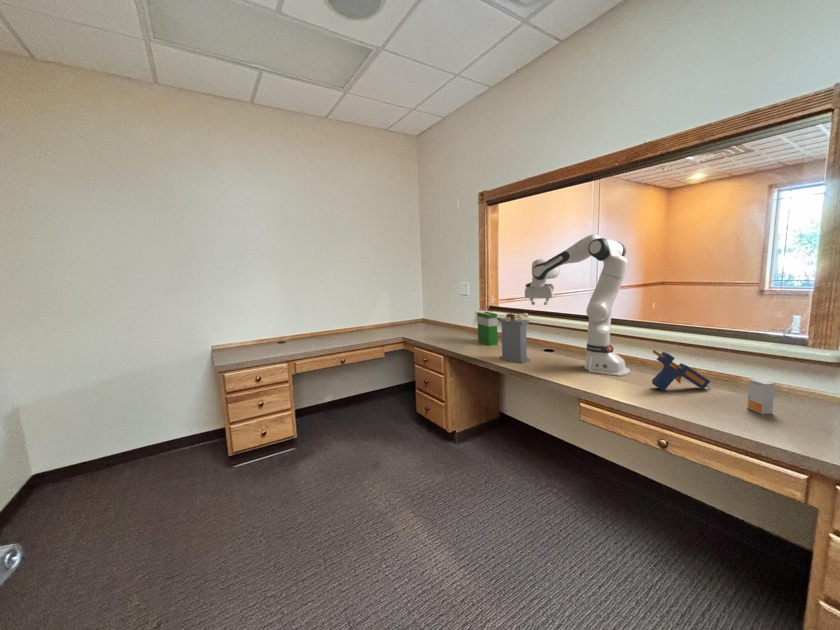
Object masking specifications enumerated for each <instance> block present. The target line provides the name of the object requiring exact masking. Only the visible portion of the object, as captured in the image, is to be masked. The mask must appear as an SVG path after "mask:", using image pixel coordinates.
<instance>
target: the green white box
mask: <svg viewBox="0 0 840 630" xmlns="http://www.w3.org/2000/svg"><path fill="white" fill-rule="evenodd" d="M476 315H477V317H476V318H477V342H478V343H480V344H482V345H486V346H488V347H490V346H491V347H492V346H498V343H499V342H498V313H494V312H488V311H484V312H480V311H479V312H476Z"/></svg>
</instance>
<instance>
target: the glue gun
mask: <svg viewBox="0 0 840 630" xmlns="http://www.w3.org/2000/svg"><path fill="white" fill-rule="evenodd" d="M652 353H653V354H654V355H656V356H658V357H657V358H656V361H657V362H659V363H661V364H662V365H663V368H662V370H660V371H659V372H658V373H657V374H656V375H655V376H654V378H652V379H651V382H652V383H651V384H652V385H653V386H655V387H656V388H657V389H659V390H661V391H662V392H665V391H666V389H667V388H668V387H669V386H670V385H671V384H672V382H673V381H674V380H675V381H676V382H677V383H678V384H682V383H681V379H682V378H684V379H685V380H687V381H688V382H689V383H692V384H693V385H695V386H696V387H698V388H700V389H702V390H705V388H708V389H710V390H712V388H711V387H710V386H709V384H710V383H711V380H710V379H708V378H707V377H705V376H704V375H702V374H701V373H699V372H697V371H696V370H694V369H692V368H691V367H690V366H688V365H686V364H684V363H681V362H680V363H679V364H678V363H675V362H674V360H675V359H676V358H675V357H674V356H673V355H671V354H670V353H667V352H666V351H662V352H661V353H660V352H659V351H657V350H656V349H655V350H652Z"/></svg>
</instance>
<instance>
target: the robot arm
mask: <svg viewBox="0 0 840 630" xmlns="http://www.w3.org/2000/svg"><path fill="white" fill-rule="evenodd" d="M626 253H627V248H626V246H625V245H624V244H623V243H622V242H619V241H615V240H613V239H609V238H604V237H601V236H600V235H598V234H596V233H595V234H594V233H593V234H590V235H587V236H585V237H583V238H581V239H580V240H578V241H577V242H575V243H574V244H573V245H571V246H570V247H568V248H567V249H565V250H563V251H562V252H560V253H558V254H556V255H555V256H553V257H552V258H550V259H548V260H546V259H543V258H541V259H536V260H533V261H532V264H531V276H532V277H531V282H528V283H526V284H524V285H525V289H524V297H525V299H529V300H530V301H529V302H531V305H532V306H533V305H534V306H535V304H536V302H535V301H534V299H545V301H544V302H543V305H544V306H548V304H549V300H550V299H553V298H555V289H554V287H555V286H554V284H552V283H547V280H551V279H555V278H558V276H559V274H560V268H559V267H560V266H562V265H568V264H576V263H580V262H583V261H585V260H586V259H588V258H590V257H593V258H595V259H596V260H598V262H603V267H602V270H601V272H600V275H599V277H598V280H597V283H596V286H595V288H594V290H593V293H592V295H591V297H590V300H589V302H588V304H587V306H586V315H587V317H588V325H587V343H586V359H585V362H584V363H585V364H584V366H583V368H584V369H585V370H587V371H588V372H589V373H595V374H602V375H610V376H616V377H617V376H618V377H620V376H621V377H623V376H626V375H629V374H630V372H631V370H630V368H628V367H626V362H625V359H624V358H623V357H621V356H620V355H619V354H617V353H616V352H615V351H614V349H615V345H613V346H612V344H611V323H612V307H613V305H614V303H615V300H616V298H617V296H618V293H619V291H620V288H621V285H622V283H623V281H624V278H625V276H626V274H627V273H626V272H627V269H628V264H629V262H628V259H627V257H625V256H626Z"/></svg>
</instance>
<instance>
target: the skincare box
mask: <svg viewBox="0 0 840 630" xmlns="http://www.w3.org/2000/svg"><path fill="white" fill-rule="evenodd" d="M775 388H776V383H775V382H771V381H769V380H765V379H762V378H759V377H758V378H750V379H749V381H748V390H747V391H748V393H747V403H746V405H747V406H746V408H747V409H748V410H751V411H754V412H756V413H759V414H761V415H768V414H769V415H771V414H773V411H774V400H775V390H776V389H775Z"/></svg>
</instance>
